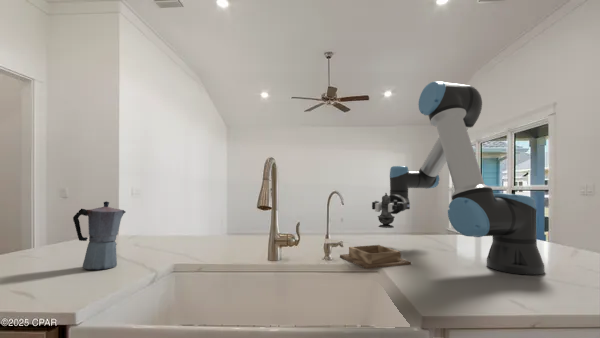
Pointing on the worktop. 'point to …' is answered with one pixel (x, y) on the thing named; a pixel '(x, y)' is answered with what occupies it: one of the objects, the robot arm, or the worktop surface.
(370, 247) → the holder
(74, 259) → the worktop surface
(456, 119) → the robot arm
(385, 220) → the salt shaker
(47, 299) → the worktop surface
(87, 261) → the moka pot
